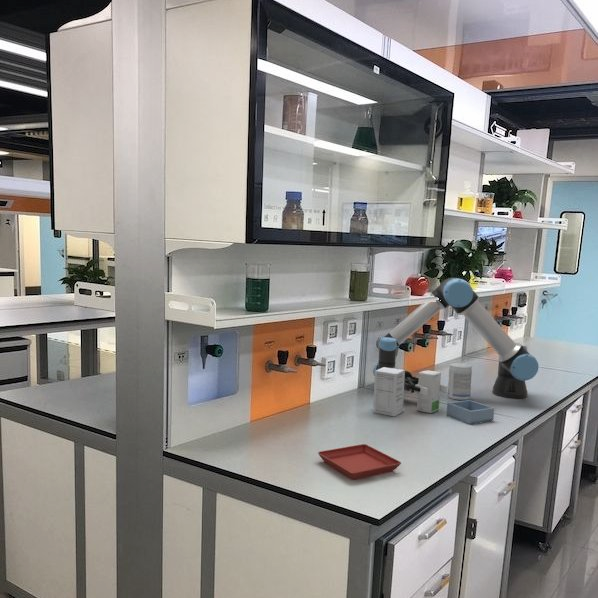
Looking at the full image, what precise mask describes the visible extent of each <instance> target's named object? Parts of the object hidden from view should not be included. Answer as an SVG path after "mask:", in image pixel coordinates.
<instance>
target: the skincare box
mask: <svg viewBox="0 0 598 598" xmlns="http://www.w3.org/2000/svg"><path fill="white" fill-rule="evenodd" d="M441 376H442V372H441V371H435V370H434V371H433V370H429V369H428V370H422V371H420V372H418V378H419V382H418V385H420V386H422V387H425V388H428V393H427V395H424V394H421V393H418V392H417V403H416V411H418V412H424V413H427V414H432V413H434V412H437V411H439V409H440V398H441V395H440V394H441V393H440V392H441V391H440V384H441V381H442V380H441V378H442V377H441Z"/></svg>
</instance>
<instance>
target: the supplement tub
mask: <svg viewBox="0 0 598 598" xmlns="http://www.w3.org/2000/svg"><path fill="white" fill-rule="evenodd" d="M472 368H473V367H472V365H470V364H468V363H463V362H461V363H460V362H454V363H450V364H449V368H448V369H449V370H448V382H447V383H448V386H447V397H448V398H450V399H453V400H456V401H457V400H458V401H466V400H470V399H471V389H472V372H473V371H472Z"/></svg>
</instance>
